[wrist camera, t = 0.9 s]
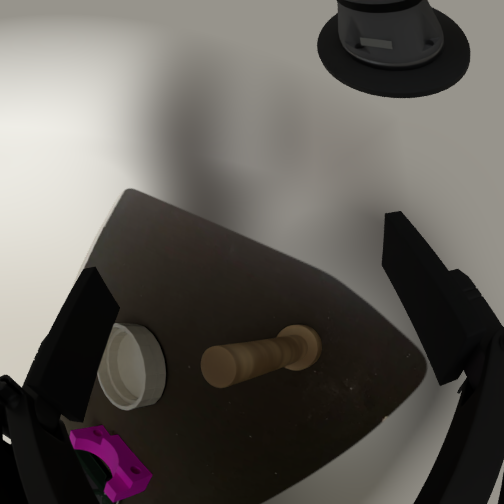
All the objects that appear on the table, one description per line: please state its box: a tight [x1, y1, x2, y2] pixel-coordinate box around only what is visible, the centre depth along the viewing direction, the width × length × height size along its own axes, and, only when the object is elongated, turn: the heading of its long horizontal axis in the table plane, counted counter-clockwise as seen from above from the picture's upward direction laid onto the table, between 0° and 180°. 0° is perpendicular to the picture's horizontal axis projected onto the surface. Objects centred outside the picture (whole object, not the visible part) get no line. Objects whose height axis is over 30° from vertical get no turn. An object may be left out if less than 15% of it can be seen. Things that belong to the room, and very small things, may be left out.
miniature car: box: [74, 449, 119, 504], centre depth 41 cm, size 9×18×8 cm, turn 65°
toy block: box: [70, 425, 153, 503], centre depth 38 cm, size 15×6×8 cm, turn 61°
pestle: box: [201, 324, 322, 388], centre depth 24 cm, size 5×5×15 cm
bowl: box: [97, 323, 166, 410], centre depth 40 cm, size 13×13×4 cm
